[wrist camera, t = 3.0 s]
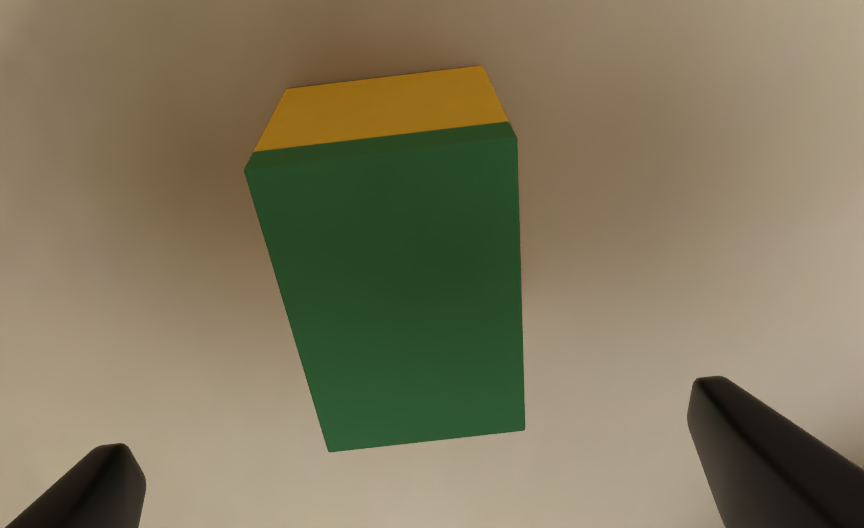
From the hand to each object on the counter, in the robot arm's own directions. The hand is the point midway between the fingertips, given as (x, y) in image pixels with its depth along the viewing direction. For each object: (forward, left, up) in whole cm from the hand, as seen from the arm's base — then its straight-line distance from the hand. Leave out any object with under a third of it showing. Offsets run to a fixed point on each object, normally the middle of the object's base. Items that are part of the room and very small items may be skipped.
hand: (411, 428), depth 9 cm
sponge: (0, 0, -7) cm, 7 cm away
